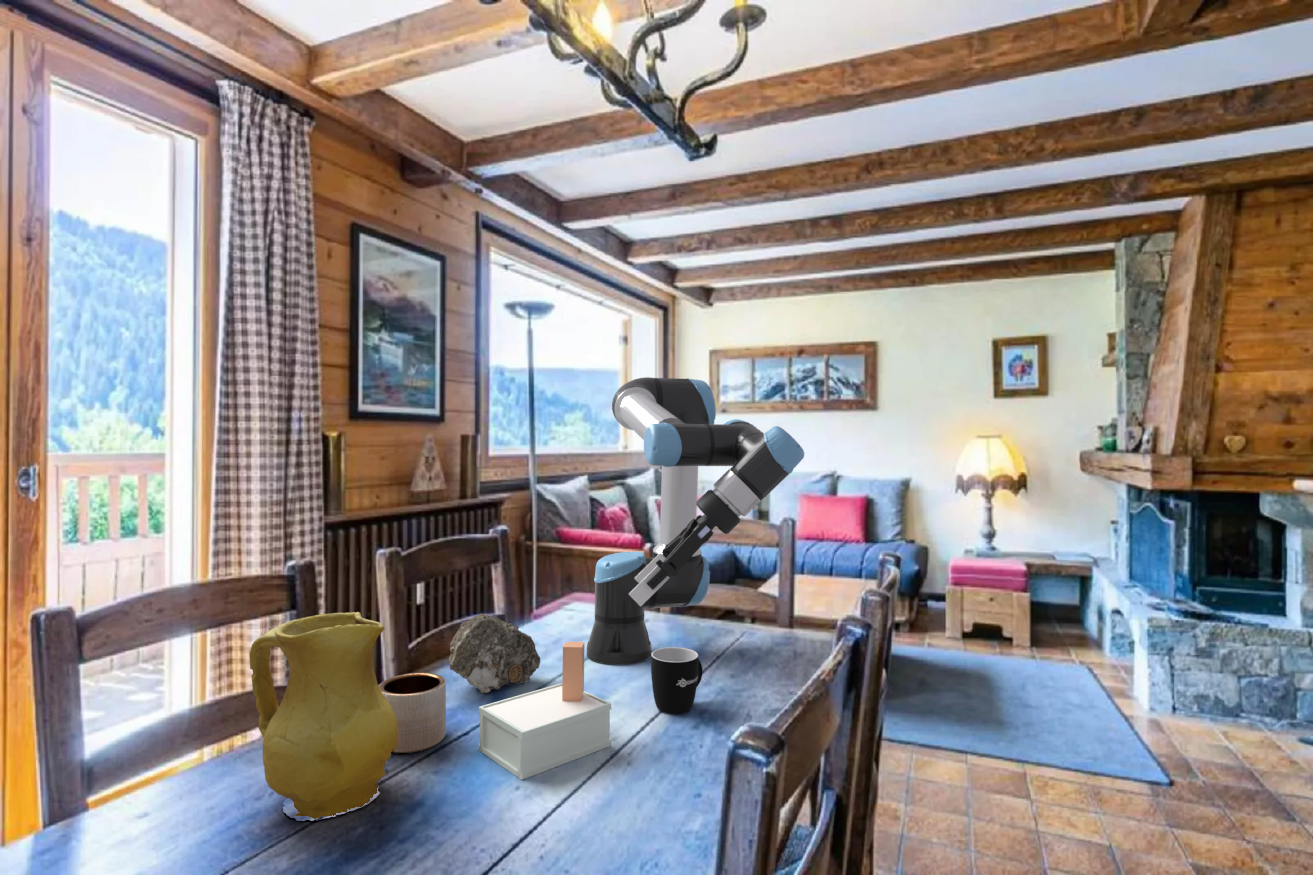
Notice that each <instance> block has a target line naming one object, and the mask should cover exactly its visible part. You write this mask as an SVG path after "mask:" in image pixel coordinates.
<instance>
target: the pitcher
mask: <svg viewBox="0 0 1313 875" xmlns="http://www.w3.org/2000/svg"><path fill="white" fill-rule="evenodd" d="M384 631H385V625H384V624H383V623H381V622H379V621H376V620H371V619H366V618H363V617H362V615H361V612H359V611H357V612H353V611H351V612H334V613H333V612H331V613H324V614H323V613H322V614H315V615H312V616H306V617H302V618H301V617H300V618H297V619H293V620H289V621H287V622H285V623H283V624H280V625H278V627H273V628H272V629H270V630H268V631H267V632H266V633H264V634H262V635H261V636H259V637H258V638H257V639H255V640H254V641H253V642H252V644H251V646H250V650H249V655H248V656H249V657H248V658H249V669H250V670H252V674H251V686H252V687H251V688H252V693H253V696H255V708H256V710H257V712H258V713H259V715H258V730H259V732H260V733H261V735H262V738H263V740H262V763H263V764H262V765H263V768H264V777H265V782H266V784H267V786H268V787H269V788H270V789H271V790H272V791H274V792H275V793H276V794H277V795H278V796H281V797H284V798H285V799H286V798H289V799H291V800H292V801H293V802H294V807H295V808H296V809H297V810H298V812H300V813H298V814H296V815H295V816H309V817H312V818H314V819H316V818H319V817H322V816H323V817H324V816H332V815H333V816H334V815H336V813H341V812H347V809H349V810H350V809H351V808H355V807H362V806H363V805H364V804H365V803H368V802H369V801H370V798H372V797H373V795H374V794H376V793H377V788H378V784H377V783H378V782H379V781H380V780H381V779H382V778H383V777H384V776H385V775H386V774H387V773H386V771H385V770H384V769H385V766H386V764H387V761H389V760H390V757H391V755H392V753H391V752H394V750H395V748H396V745H397V743H398V723H397V720H396V716H395V714H394V711H393V708H392V707H391V705H390V704H389V702H388V701H387V699H386V698H385V697H384V695H383V693H382V691H381V689H380V687H379V684H378V681H377V676H376V673H375V668H374V646H375V644H376V641H377V639H378V637H379V636H380V635H381V634H382V633H383V632H384ZM271 647H275V648H279V649H280V650H281V652H282V653H283V655H284V656H285V658H286V660H287V664H288V668H289V669H288V670H289V671H288V672H289V673H288V679H287V682H286V683H287V684H286V688H285V692H284V695H283V698H282V700H281V702H280V704H279V702H278V701H279V700H278V698H277V693H276V689H275V685H274V679H273V675H272V672H271V671H272V670H271V664H270V663H271V662H270V660H271V659H270V658H271V656H270V655H271ZM376 782H377V783H376Z"/></svg>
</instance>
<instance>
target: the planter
mask: <svg viewBox="0 0 1313 875" xmlns="http://www.w3.org/2000/svg"><path fill="white" fill-rule="evenodd" d="M378 686H379V687H380V689H381V691H382V693H383V695H384V697H385V698H386V699H387V701H388V702H389V704H390V705H391V707H392V708H393V711H394V714H395V716H396V720H397V723H398V743H397V745H396V748H395V750H394V752H395V753H394V754H397V753H408V754H411V753H410V752H415V753H418V752H417V751H420V752H422V751H421V750H424V751H426V750H425V749H427V750H429V749H431V748H433V747H435V746H437V745H438V744H440V742H442V741H443V740H444V739H445V737H446V733H447V701H446V700H447V699H446V698H447V688H446V687H447V680H446V678H445V677H444V676H442V675H440V674H436V673H431V672H410V673H404V674H399V675H395V676H392V677H389V678H387V679H385V680H383V681H381V683H379V684H378ZM436 744H437V745H436ZM428 748H429V749H428Z"/></svg>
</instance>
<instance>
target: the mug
mask: <svg viewBox="0 0 1313 875" xmlns="http://www.w3.org/2000/svg"><path fill="white" fill-rule="evenodd" d="M699 657H700V656H699V653H697V652H696V651H695V650H693V649H690V648H687V647H686V648H685V647H679V646H678V647H676V646H674V647H673V646H669V647H661V648H657V649H655V650H653V651H652V654H651V657H650V673H651V674H650V675H651V684H652V693H653V699H654V703H655V706H656V709H658V711H660V712H661V713H664V714H668V715H682V714H686V713H689V711H690V710H692V708H693V705H694V703H695V698H696V693H697V688H698V687H699V685H700V683H701V680H702V678H703V666H702V663H701V661H700V660H699Z"/></svg>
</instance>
